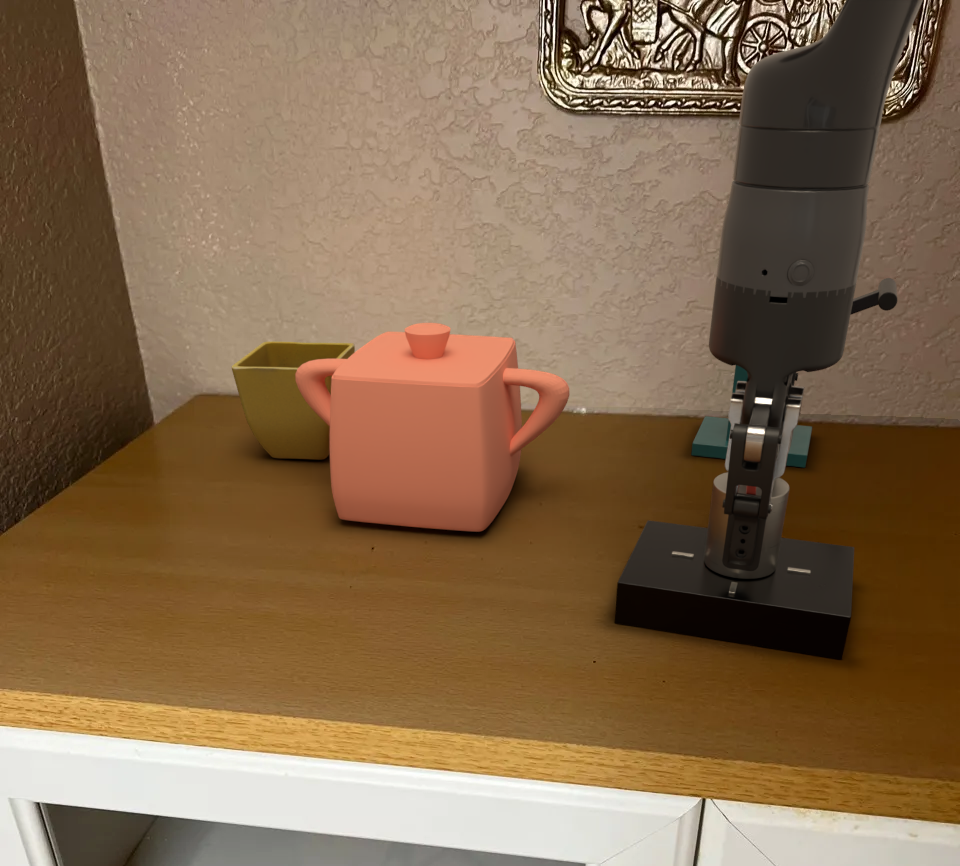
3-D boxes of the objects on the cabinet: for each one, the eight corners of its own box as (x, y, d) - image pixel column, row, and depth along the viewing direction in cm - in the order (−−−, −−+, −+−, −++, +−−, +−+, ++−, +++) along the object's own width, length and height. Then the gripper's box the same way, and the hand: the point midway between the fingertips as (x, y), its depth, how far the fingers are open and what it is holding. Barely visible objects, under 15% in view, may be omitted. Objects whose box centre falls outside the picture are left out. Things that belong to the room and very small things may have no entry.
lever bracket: (810, 438, 93) (832, 310, 87) (805, 468, 86) (828, 331, 80) (703, 427, 95) (717, 302, 89) (691, 455, 89) (705, 322, 83)
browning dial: (705, 544, 66) (716, 463, 63) (776, 551, 65) (790, 469, 62) (701, 575, 62) (712, 489, 59) (776, 583, 61) (791, 496, 58)
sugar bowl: (549, 548, 73) (556, 360, 66) (273, 522, 77) (250, 343, 70) (584, 455, 89) (593, 297, 82) (355, 438, 94) (344, 286, 86)
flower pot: (242, 466, 88) (228, 365, 83) (275, 433, 95) (264, 339, 90) (337, 471, 86) (328, 369, 82) (363, 437, 94) (356, 342, 89)
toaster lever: (899, 297, 83) (892, 269, 83) (901, 312, 79) (893, 283, 78) (759, 347, 89) (751, 322, 88) (752, 364, 84) (743, 338, 83)
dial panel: (846, 586, 67) (854, 544, 66) (841, 659, 59) (851, 614, 58) (644, 557, 71) (647, 517, 70) (614, 623, 63) (617, 579, 62)
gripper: (733, 246, 61) (702, 500, 70) (698, 293, 50) (666, 590, 58) (860, 253, 59) (811, 514, 68) (854, 304, 47) (797, 610, 56)
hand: (745, 548), depth 63 cm, fingers closed on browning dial, 4 cm apart
